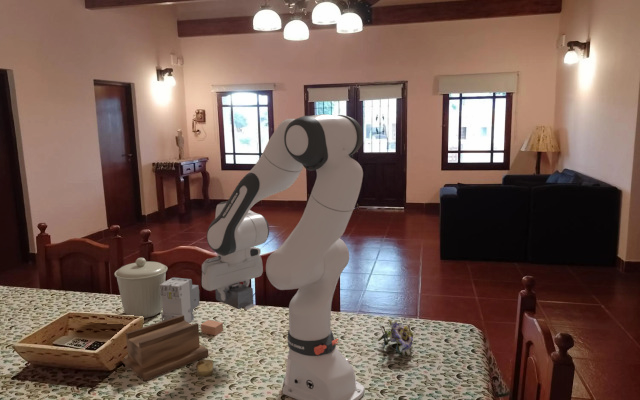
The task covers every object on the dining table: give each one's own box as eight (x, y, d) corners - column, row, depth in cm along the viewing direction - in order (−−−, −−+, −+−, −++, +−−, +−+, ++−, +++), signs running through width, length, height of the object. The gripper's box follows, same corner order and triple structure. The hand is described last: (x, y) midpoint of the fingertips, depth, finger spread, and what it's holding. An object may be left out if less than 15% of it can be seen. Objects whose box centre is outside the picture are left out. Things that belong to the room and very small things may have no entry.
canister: (125, 327, 164) (121, 268, 160) (112, 311, 178) (107, 256, 175) (177, 315, 175) (173, 259, 171) (160, 300, 189) (157, 248, 185)
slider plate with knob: (257, 305, 143) (256, 286, 142) (241, 310, 140) (240, 291, 139) (227, 293, 154) (226, 275, 153) (212, 298, 151) (211, 279, 150)
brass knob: (216, 373, 134) (215, 363, 134) (202, 379, 131) (202, 369, 131) (207, 367, 137) (207, 357, 137) (194, 373, 134) (193, 363, 134)
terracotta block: (223, 331, 161) (222, 322, 161) (215, 336, 158) (215, 327, 157) (208, 328, 164) (208, 319, 164) (201, 332, 160) (200, 324, 160)
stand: (208, 355, 144) (207, 326, 143) (144, 381, 130) (142, 348, 129) (182, 338, 155) (180, 311, 154) (120, 360, 142) (118, 330, 140)
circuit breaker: (202, 312, 177) (200, 273, 174) (181, 328, 163) (178, 286, 161) (184, 310, 179) (182, 272, 176) (162, 326, 165) (159, 284, 163)
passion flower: (406, 371, 145) (408, 352, 137) (372, 358, 149) (372, 340, 140) (416, 339, 152) (419, 319, 144) (383, 328, 156) (384, 308, 147)
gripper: (207, 262, 135) (210, 308, 137) (264, 248, 149) (266, 290, 151) (195, 258, 140) (198, 303, 142) (252, 245, 154) (254, 286, 156)
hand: (234, 296), depth 147 cm, fingers closed on slider plate with knob, 5 cm apart
